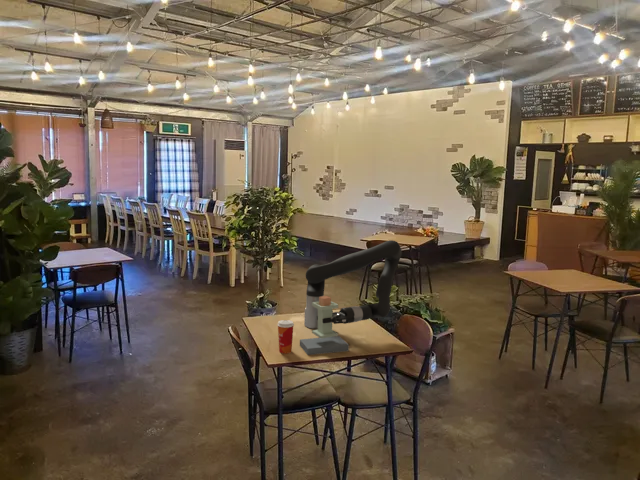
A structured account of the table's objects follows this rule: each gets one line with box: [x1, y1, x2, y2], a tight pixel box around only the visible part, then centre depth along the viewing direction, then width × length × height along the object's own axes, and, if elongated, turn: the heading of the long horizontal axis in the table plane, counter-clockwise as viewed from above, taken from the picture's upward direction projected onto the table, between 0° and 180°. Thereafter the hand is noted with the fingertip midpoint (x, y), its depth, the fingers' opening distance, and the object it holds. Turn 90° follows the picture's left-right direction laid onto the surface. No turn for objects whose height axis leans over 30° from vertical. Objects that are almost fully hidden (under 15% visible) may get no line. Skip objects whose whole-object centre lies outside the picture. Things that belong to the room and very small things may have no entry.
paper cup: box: [277, 319, 295, 355], centre depth 231 cm, size 8×8×14 cm
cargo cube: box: [319, 295, 332, 306], centre depth 235 cm, size 4×4×4 cm
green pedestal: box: [311, 300, 339, 338], centre depth 236 cm, size 9×9×15 cm
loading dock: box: [299, 335, 350, 356], centre depth 237 cm, size 20×13×3 cm, turn 108°
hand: (320, 319), depth 234 cm, fingers closed on green pedestal, 5 cm apart
